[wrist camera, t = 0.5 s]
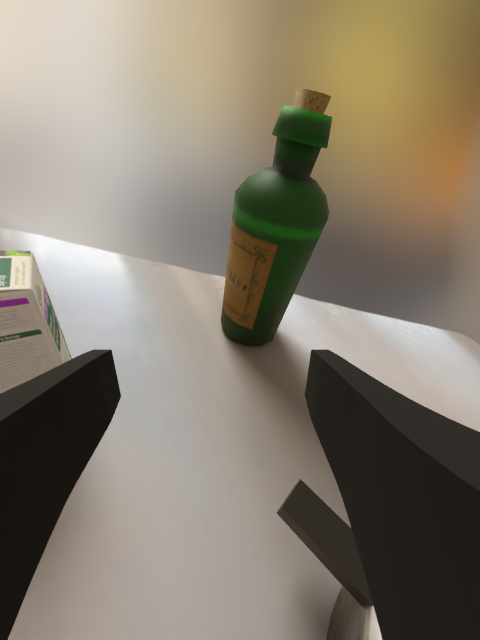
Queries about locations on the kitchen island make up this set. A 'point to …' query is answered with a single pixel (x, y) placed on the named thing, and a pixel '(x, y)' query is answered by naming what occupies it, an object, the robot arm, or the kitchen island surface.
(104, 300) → the kitchen island surface
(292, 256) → the bottle
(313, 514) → the cooker lid
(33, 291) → the syrup box
